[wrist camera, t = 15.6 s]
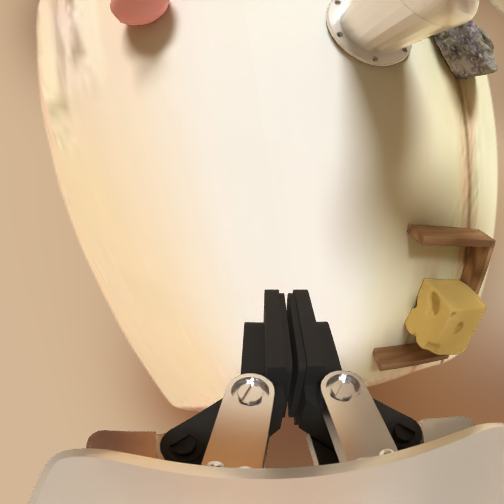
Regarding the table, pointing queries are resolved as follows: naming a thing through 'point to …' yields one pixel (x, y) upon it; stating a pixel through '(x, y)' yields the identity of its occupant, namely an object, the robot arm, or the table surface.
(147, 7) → the pink rounded piece
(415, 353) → the wooden u-shaped bracket
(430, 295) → the cheese
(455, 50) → the mineral rock
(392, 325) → the table surface
